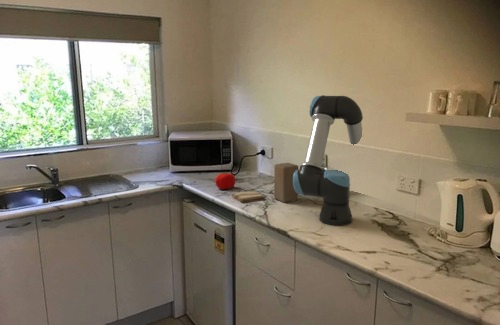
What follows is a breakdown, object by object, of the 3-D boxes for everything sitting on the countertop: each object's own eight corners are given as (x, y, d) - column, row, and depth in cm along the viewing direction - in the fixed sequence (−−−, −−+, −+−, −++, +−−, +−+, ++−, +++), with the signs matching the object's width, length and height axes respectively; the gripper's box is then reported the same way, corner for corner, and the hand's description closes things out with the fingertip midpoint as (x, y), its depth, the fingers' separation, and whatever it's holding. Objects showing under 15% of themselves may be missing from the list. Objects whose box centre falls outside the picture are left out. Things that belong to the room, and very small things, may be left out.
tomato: (238, 189, 237) (237, 173, 235) (218, 191, 233) (217, 175, 231) (232, 185, 248) (231, 169, 245) (212, 187, 243) (212, 171, 241)
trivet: (264, 199, 216) (264, 196, 216) (241, 203, 211) (241, 199, 210) (253, 193, 229) (253, 189, 228) (232, 196, 223) (231, 193, 223)
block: (283, 203, 209) (284, 167, 205) (273, 198, 218) (273, 164, 214) (298, 200, 214) (299, 165, 210) (288, 196, 223) (288, 162, 218)
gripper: (337, 185, 216) (304, 190, 207) (311, 176, 238) (281, 180, 229) (337, 172, 214) (305, 177, 205) (311, 164, 236) (281, 167, 227)
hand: (292, 178), depth 217 cm, fingers open, 13 cm apart
